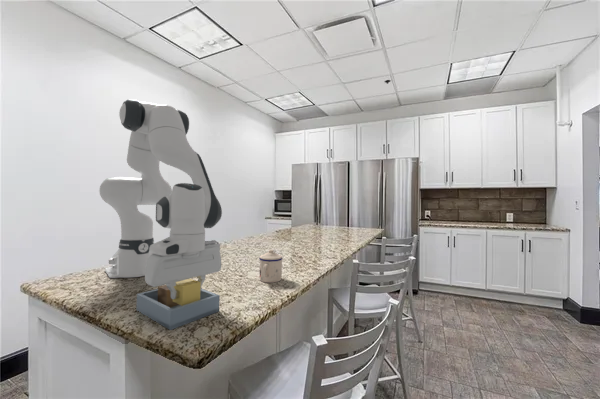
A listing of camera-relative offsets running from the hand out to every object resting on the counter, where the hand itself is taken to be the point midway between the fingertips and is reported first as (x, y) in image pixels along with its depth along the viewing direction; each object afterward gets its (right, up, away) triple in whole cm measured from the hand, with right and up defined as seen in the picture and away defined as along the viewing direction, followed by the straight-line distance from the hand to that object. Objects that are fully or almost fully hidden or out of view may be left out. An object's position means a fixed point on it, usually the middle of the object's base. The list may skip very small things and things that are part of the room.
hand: (186, 294), depth 73 cm
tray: (-3, -5, +2) cm, 7 cm away
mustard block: (0, -2, 0) cm, 2 cm away
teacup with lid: (+19, -6, +32) cm, 38 cm away
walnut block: (-7, -4, +5) cm, 9 cm away
